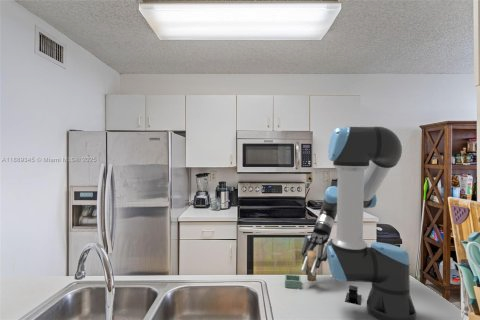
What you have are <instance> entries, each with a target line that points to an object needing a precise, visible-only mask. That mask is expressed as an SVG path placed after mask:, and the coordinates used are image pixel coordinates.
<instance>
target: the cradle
mask: <svg viewBox="0 0 480 320" xmlns="http://www.w3.org/2000/svg"><path fill="white" fill-rule="evenodd" d="M301 280H302V279H301V275H298V274H297V275H295V274H284V288H287V289H295V290H297V289H298V290H301V289H302V281H301Z"/></svg>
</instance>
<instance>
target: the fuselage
mask: <svg viewBox="0 0 480 320" xmlns="http://www.w3.org/2000/svg"><path fill="white" fill-rule="evenodd" d="M315 258H317V251H316V250H314V249H313V250H308V251H307V269H306V272H307V274H306V275H307V277H306V279H307V281H308V282H311V283H312V282H313V283H314V282H317V272H316V273H315V276H313V275H312V273H311V270H312V267H313V264H314V261H315Z"/></svg>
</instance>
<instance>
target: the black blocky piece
mask: <svg viewBox="0 0 480 320" xmlns="http://www.w3.org/2000/svg"><path fill="white" fill-rule="evenodd" d="M358 289H359V287H358V286H355V285H349V287H348V292H346V295H345V299H344V303H348V304H353V305H357V306H361V305H362V296H363V295H362V294H359V290H358Z"/></svg>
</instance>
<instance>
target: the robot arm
mask: <svg viewBox="0 0 480 320" xmlns="http://www.w3.org/2000/svg"><path fill="white" fill-rule="evenodd" d="M327 153H328V160H329V161H331V162H332V164H333V165H332V166H333V167H334V168H335V170H337V183H336V185H333V186H329V187H327V188H326V190H325V193H324V196H323V200H322V203H321V204H322V205H321V208H320V211H319V214H318V216H317V218H316V222H315V224H314V227H313V231H312V233H311V234H310V235H308V234H305V235H304V242H303V245H302V248H301V252H300V254H301V256H302V257H303V259H302V262H301V263H302V266H301V272H302V274H306V272H307V251H308V250H313V251H314V249H315V248H316V247H317V246H318V252H317V256H316V258H315V261H314V264H313V267H312V270H311V273H312V275H313V276H315V273H316V274H317V269H319V268H320V266H321V264H322V262H328V267H329V271H330V274H331V276H332V278H333V279H334V280H336V281H342V282H345V283H347V282H353V283H359V282H360V283H371V288H370V291H369V294H368V296H367V299H366V310H367V312H368V313H369V314H370V315H371V316H372V317H374V318H376V319H378V320H417V310H416V308H415V305H414V302H413V300H412V297H411V292H410V291H411V290H410V287H411V285H410V282H411V281H410V279H411V277H410V275H411V274H410V265H411V263H410V255H409V252H408V251H407V250H405V249H404V248H402V247H399V246H397V245H394V244H391V243H386V242H379V241H374V242H371V244H370V247H369V246H368V243H367V242H366V241H365V240H364V239H363V238H364V236H363V235H364V209H374V208H375V207H376V206H377V201H378V200H377V194H376V193H377V191H378V190H379V188H380V187H381V185H382V183H383V182H384V180H385V178H386V176H387V175H388V173H389V172H390V170H391V169H392V168H394V167H396V166H397V165H398V163H399V162H400V160H401V157H402V153H403V147H402V143H401V140H400V139H399V137H398V135H397V134H396V133H395V132H393V130H392V129H389V128H387V127H383V126H342V127H337V128H335V129H333V130H332V133H331V136H330V138H329V143H328V152H327ZM335 220H336V236H335V237H334V238H330V237H331V236H330V235H331V233H332V230H333V226H334V223H335ZM325 244H326V246H325Z"/></svg>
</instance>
